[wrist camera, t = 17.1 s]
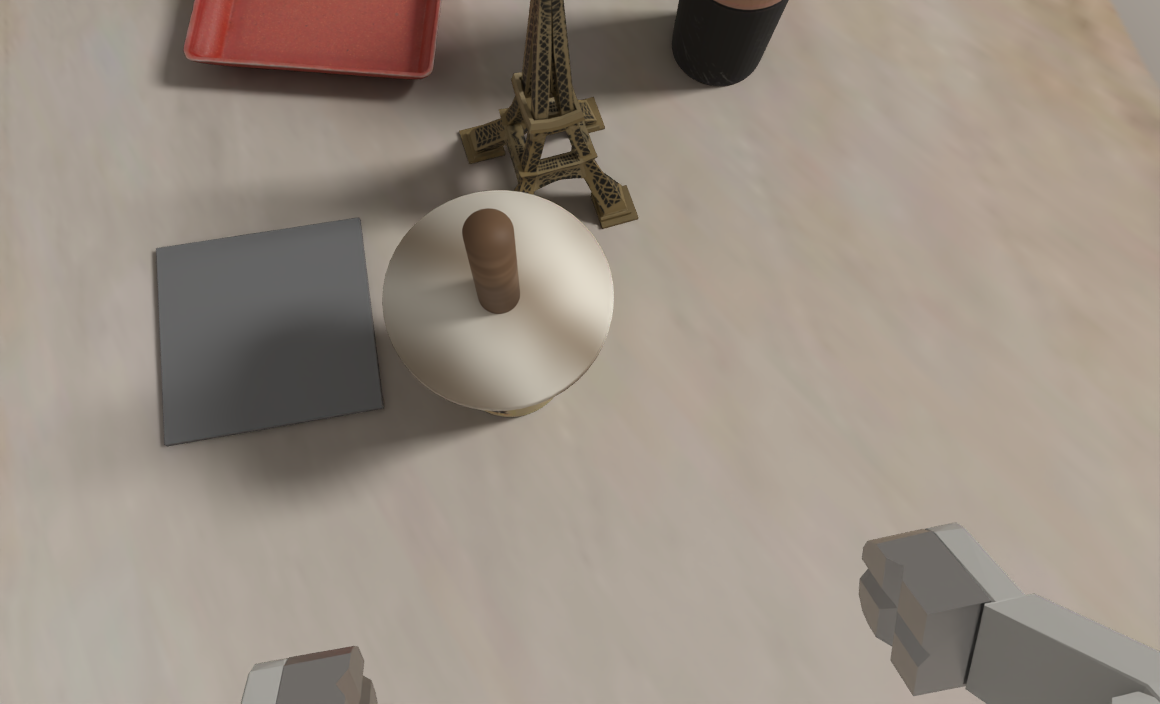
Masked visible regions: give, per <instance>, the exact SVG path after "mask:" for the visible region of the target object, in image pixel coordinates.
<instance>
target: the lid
mask: <svg viewBox="0 0 1160 704" xmlns="http://www.w3.org/2000/svg"><path fill="white" fill-rule="evenodd" d="M613 304H614V290H613V281H612V276H611V271H610V268H609V265H608V262H607V259H606V257H605V255H604V253H603V251H602V249H601V247H600V245H599V243H598V242H597V240H596V239H595V237H594V236H593V234H592V233H591V232H590V231H589V230H588V229H587V228H586V226H585V225H584V224H583V223H582V222H581V221H579V220H578V219H577V218H576V217H575V216H574V215H573V214H571V213H570V212H568V211H567V210H565V209H564V208H562V207H561V206H559V205H557V204H555V203H553V202H551V201H549V200H546V199H544V198H541V197H538V196H535V195H532V194H527V193H523V192H517V191H508V190H491V191H483V192H476V193H472V194H468V195H464V196H461V197H458V198H456V199H453V200H450V201H448V202H446V203H444V204H442V205H441V206H439V207H437V208H435V209H434V210H432V211H431V212H429V213H428V214H426V215H425V216H424V217H423V218H422V219H420V220H419V221H418V222H417V223H416V224H415V225H414V226H413V227H412V228H411V229H410V230H409V231H408V233H407V234H406V235H405V236H404V237H403V239H402V240H401V242H400V243H399V245H398V246H397V248H396V250H395V252H394V254H393V256H392V258H391V260H390V263H389V266H388V269H387V272H386V275H385V280H384V285H383V298H382V305H383V315H384V320H385V325H386V329H387V332H388V335H389V337H390V340H391V342H392V345H393V346H394V348H395V350H396V352H397V353H398V355H399V357H400V358H401V360H402V361H403V363H404V364H405V365H406V367H407V368H408V369H409V370H410V372H411V373H412V374H413V375H414V376H415V377H416V378H417V379H418V380H419V381H420V382H421V383H422V384H423V385H425V386H426V387H427V388H429V389H430V390H431V391H433V392H434V393H436V394H437V395H439V396H441V397H443V398H445V399H447V400H448V401H451V402H454V403H456V404H459V405H461V406H465V407H469V408H473V409H478V410H487V411H509V410H516V409H523V408H527V407H530V406H534V405H537V404H540V403H542V402H544V401H547V400H549V399H551V398H553V397H555V396H557V395H558V394H560V393H562V392H563V391H565V390H566V389H568V388H569V387H570V386H571V385H573V384H574V383H575V382H577V381H578V380H579V379H580V377H581V376H582V375H583V374H584V373H585V372H586V371H587V370H588V369H589V368H590V366H591V365H592V363H593V362H594V361H595V359H596V358H597V356H598V354H599V352H600V351H601V349H602V347H603V345H604V342H605V339H606V337H607V334H608V331H609V327H610V323H611V318H612V314H613Z"/></svg>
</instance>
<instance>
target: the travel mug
mask: <svg viewBox="0 0 1160 704" xmlns="http://www.w3.org/2000/svg"><path fill="white" fill-rule="evenodd" d="M787 2H788V0H679V4H678V9H677V15H676V20H675V26H674V32H673V39H672V49H673V54H674V57H675V59H676V61H677V63H678V65H679V66H680V68H681V69H682V70H683V71H684V72H685V73H686V74H687V75H689V76H690V77H692V78H693V79H695V80H697V81H699V82H702V83H704V84H708V85H714V86H726V85H731V84H735V83H738V82H740V81H742V80H744V79H745V78H747V77H748V76H749V75H750V74H751V73H752V72H753V71H754V70H755V68H756V67H757V65H758V63H759V62H760V60H761V58H762V56H763V53H764V51H765V49H766V47H767V45H768V43H769V41H770V39H771V36H772V34H773V32H774V30H775V28H776V26H777V24H778V21H779V19H780V17H781V15H782V13H783V11H784V9H785V7H786V4H787Z"/></svg>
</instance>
